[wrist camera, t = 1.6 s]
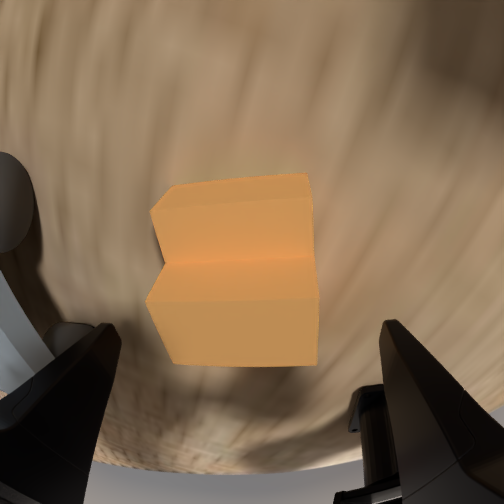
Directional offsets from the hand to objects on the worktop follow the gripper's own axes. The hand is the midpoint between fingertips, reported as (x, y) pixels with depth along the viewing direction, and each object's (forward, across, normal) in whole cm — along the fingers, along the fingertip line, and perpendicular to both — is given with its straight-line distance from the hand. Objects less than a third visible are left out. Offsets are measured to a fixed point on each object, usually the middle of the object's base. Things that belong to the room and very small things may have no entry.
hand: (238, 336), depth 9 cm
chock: (+4, 0, 0) cm, 4 cm away
